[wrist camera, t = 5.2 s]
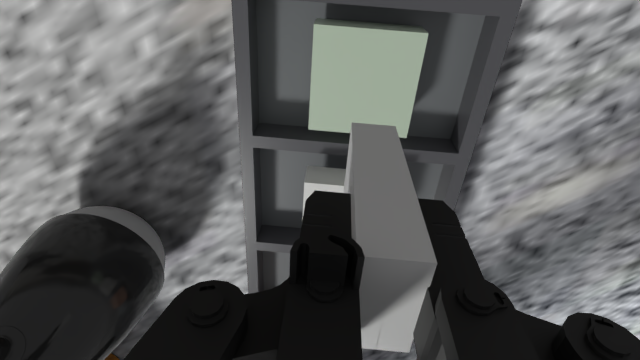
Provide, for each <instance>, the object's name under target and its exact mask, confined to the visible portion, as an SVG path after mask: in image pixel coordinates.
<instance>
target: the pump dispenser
mask: <svg viewBox="0 0 640 360" xmlns="http://www.w3.org/2000/svg"><path fill="white" fill-rule="evenodd" d="M164 268H165V252H164V248H163V245H162V242H161V240H160V238H159V236H158V234H157V233H156V232H155V230H154V229H153V228H152V227H151V226H150V225H149V224H148V223H147V222H146V221H145V220H143V219H142V218H140V217H139V216H137V215H135V214H133V213H131V212H129V211H127V210H124V209H120V208H116V207H110V206H91V207H85V208H81V209H78V210H74V211H72V212H69V213H67V214H64V215H60V216H56V217H54V218H52V219H50V220H48V221H47V222H45V223H44V224H43V225H41V226H40V227H39V228H38V229H37V230H36V231H35V232H34V233H33V234H32V235H31V236H30V237H29V238H28V239H27V240H26V242H25V243H24V244H23V245H22V246H21V248H20V249H19V250H18V251H17V253H16V254H15V255H14V256H13V257H12V259H11V260H10V261H9V263H8V264H7V265H6V267H5V268H4V269H3V271H2V272H1V274H0V360H105V359H106V358H107V357H108V356H109V355H110V354H111V352H112V351H113V350H114V349H115V348H116V347H117V346H118V345H119V344H120V343H121V342H122V341H123V340H124V339H125V338H126V337H127V335H128V334H129V333H130V332H131V331H132V330H133V328H134V327H135V326H136V325H137V324H138V322H139V321H140V320H141V319H142V317H143V316H144V315H145V313H146V312H147V311H148V309H149V308H150V307H151V305H152V304H153V303H154V301H155V300H156V298H157V296H158V295H159V293H160V291H161V289H162V287H163V283H164Z"/></svg>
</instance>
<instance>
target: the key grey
mask: <svg viewBox="0 0 640 360" xmlns="http://www.w3.org/2000/svg"><path fill="white" fill-rule="evenodd" d="M345 174H346V169H340V168H328V167H317V166H307V170H306V176H305V181H304V197H303V215H304V208H305V202H306V200H307V198H308V197H309V196H310V195H311V194H312V193H313V192H314V191H315V190H316V191H327V192H338V193H344V182H345ZM302 220H303V217H302Z"/></svg>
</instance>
